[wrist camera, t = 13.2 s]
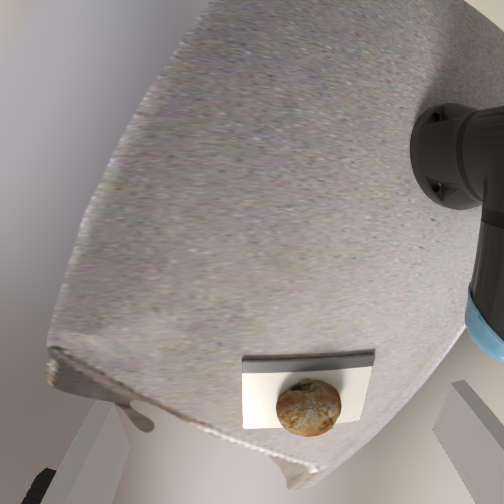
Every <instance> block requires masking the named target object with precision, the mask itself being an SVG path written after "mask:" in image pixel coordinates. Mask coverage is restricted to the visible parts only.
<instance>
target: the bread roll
mask: <svg viewBox="0 0 504 504" xmlns="http://www.w3.org/2000/svg"><path fill="white" fill-rule="evenodd" d="M341 408H342V405H341V399H340V394H339V392H338V391H337V389H336V388H334V387H333V386H332V385H331V384H328V383H326V382H324V381H321V380H310V379H309V378H307V379H302V380H300V381H299V383H297V384H295V385H293V386H291V387H290V388H289V389H287V390H286V391H284V392H283V393H281V394H280V396H279V398H278V400H277V403H276V413H277V417H278V420H279V422H280V423H281V425H282V426H283V427H284V428H285V429H287V430H288V431H289V432H290V433H293V434H296V435H301V436H306V437H310V436H318V435H320V434H323V433H325V432H327V431H328V430H330V429H332V427H333V425H334V424H335V422H336V421H337V418H338V417H339V416H340V413H341Z"/></svg>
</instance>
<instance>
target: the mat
mask: <svg viewBox="0 0 504 504" xmlns="http://www.w3.org/2000/svg"><path fill="white" fill-rule="evenodd" d="M374 358H375V355H374V353H369V354H358V355H346V356H332V357H316V358H295V359H251V360H242V394H243V428H284V427H283V426H282V425H281V423H280V422H279V420H278V417H277V413H276V403H277V400H278V398H279V396H280V394H281V393H283V392H284V391H286V390H287V389H289V388H290V387H291V386H293V385H295V384H297V383H299V381H300V380H302V379H307V378H309V379H310V380H321V381H324V382H326V383H328V384H331V385H332V386H333V387H334V388H336V389H337V391H338V392H339V394H340V399H341V405H342V408H341V413H340V416H339V417H338V418H337V421H336V422H335V423H344V422H352V421H359V420H360V416H361V412H362V408H363V404H364V400H365V396H366V392H367V388H368V384H369V380H370V375H371V371H372V366H373V362H374Z"/></svg>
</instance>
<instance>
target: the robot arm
mask: <svg viewBox="0 0 504 504" xmlns="http://www.w3.org/2000/svg"><path fill="white" fill-rule="evenodd" d="M410 157H411V164H412V168H413V172H414V175H415V177H416V179H417V182H418V184H419V185H420V187H421V189H422V190H423V191H424V193H425V194H426V195H427V196H428V197H429V198H430V199H431V200H432V201H434V202H435V203H437V204H439V205H441V206H443V207H447V208H451V209H455V210H466V209H470V208H473V207H476V206H480V205H483V206H482V217H481V223H480V232H479V239H478V246H477V253H476V259H475V265H474V270H473V275H472V280H471V282H470V284H469V287H468V301H467V306H466V311H465V325H466V328H467V330H468V332H469V334H470V336H471V338H472V339H473V341H474V342H475V343H476V344H477V345H478V346H479V347H480V348H481V349H482V350H483V351H484V352H485V353H487V354H488V355H490V356H491V357H493V358H494V359H497V360H498V361H500V362H502V363H504V106H500V107H494V108H489V109H484V110H477V109H473V108H470V107H467V106H464V105H461V104H456V103H446V104H442V105H438V106H434V107H432V108H430V109H428V110H427V111H426V112H425V113H423V114H422V116H421V117H420V118H419V120H418V121H417V123H416V125H415V127H414V130H413V133H412V137H411V143H410ZM432 431H433V432H434V434H435V435H436V437H437V439H438V440H439V442H440V444H441V445H442V447H443V449H444V450H445V452H446V453H447V455H448V457H449V458H450V460H451V462H452V463H453V465H454V467H455V468H456V470H457V472H458V474H459V475H460V477H461V479H462V481H463V482H464V484H465V486H466V487H467V489H468V491H469V493H470V494H471V496H472V498H473V500H474V502H475V503H476V504H504V426H503V424H502V423H501V422H500V421H499V420H498V418H497V417H496V416H495V415H494V414H493V412H492V411H491V410H490V409H489V408H488V406H487V405H486V404H485V403H484V402H483V401H482V399H481V398H480V397H479V396H478V395H477V394H476V392H475V391H474V390H473V389H472V388H471V387H470V386H469V385H468V383H467V382H466V381H465V380H460V381H456V382H452V383H450V385H449V388H448V391H447V394H446V396H445V399H444V402H443V404H442V407H441V410H440V412H439V415H438V417H437V420H436V422H435V424H434V427H433V429H432ZM130 450H131V448H130V445H129V443H128V441H127V438H126V435H125V432H124V430H123V427H122V424H121V422H120V419H119V416H118V413H117V410H116V407H115V404H114V402H107V401H100V400H96V402H95V403H94V405H93V407H92V409H91V411H90V412H89V414H88V416H87V418H86V419H85V421H84V423H83V425H82V426H81V428H80V430H79V432H78V433H77V435H76V437H75V439H74V441H73V442H72V444H71V446H70V448H69V450H68V452H67V453H66V455H65V457H64V459H63V461H62V463H61V465H60V466H59V468H58V470H57V471H55V470H52V469H49V468H46V469H44V470H43V471H42V472H41V473H39V475H37V476H36V478H35V479H34V481H33V483H32V485H31V489H29V490H28V492H27V494H26V497H25V498H24V500H23V502H22V503H21V504H112V501H113V498H114V495H115V492H116V490H117V486H118V484H119V481H120V478H121V475H122V473H123V470H124V467H125V464H126V461H127V459H128V456H129V453H130Z"/></svg>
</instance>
